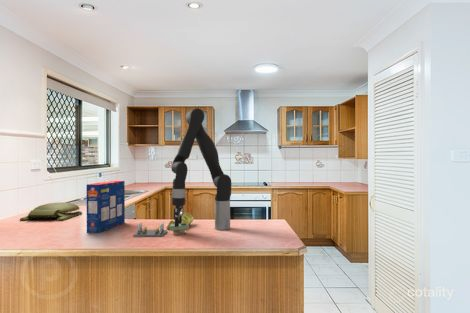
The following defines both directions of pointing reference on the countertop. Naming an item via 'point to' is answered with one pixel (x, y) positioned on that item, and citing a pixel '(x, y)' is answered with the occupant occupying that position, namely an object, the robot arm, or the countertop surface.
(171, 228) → the board
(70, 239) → the countertop surface
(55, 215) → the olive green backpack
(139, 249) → the countertop surface
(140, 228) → the chassis
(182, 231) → the block
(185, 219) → the plastic component
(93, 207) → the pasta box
